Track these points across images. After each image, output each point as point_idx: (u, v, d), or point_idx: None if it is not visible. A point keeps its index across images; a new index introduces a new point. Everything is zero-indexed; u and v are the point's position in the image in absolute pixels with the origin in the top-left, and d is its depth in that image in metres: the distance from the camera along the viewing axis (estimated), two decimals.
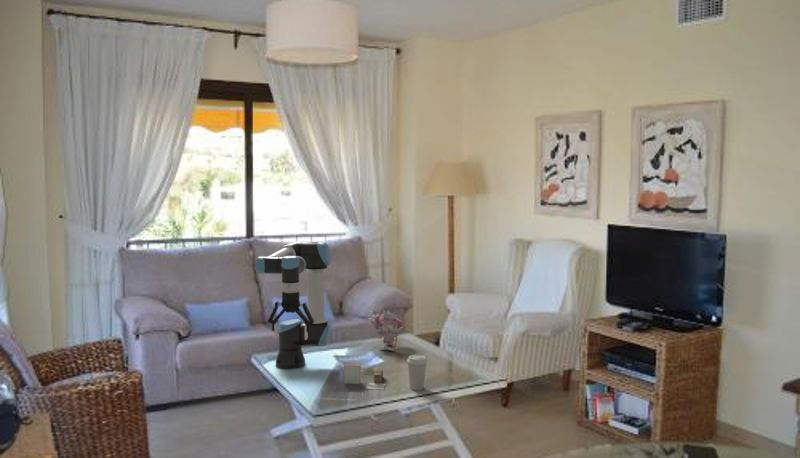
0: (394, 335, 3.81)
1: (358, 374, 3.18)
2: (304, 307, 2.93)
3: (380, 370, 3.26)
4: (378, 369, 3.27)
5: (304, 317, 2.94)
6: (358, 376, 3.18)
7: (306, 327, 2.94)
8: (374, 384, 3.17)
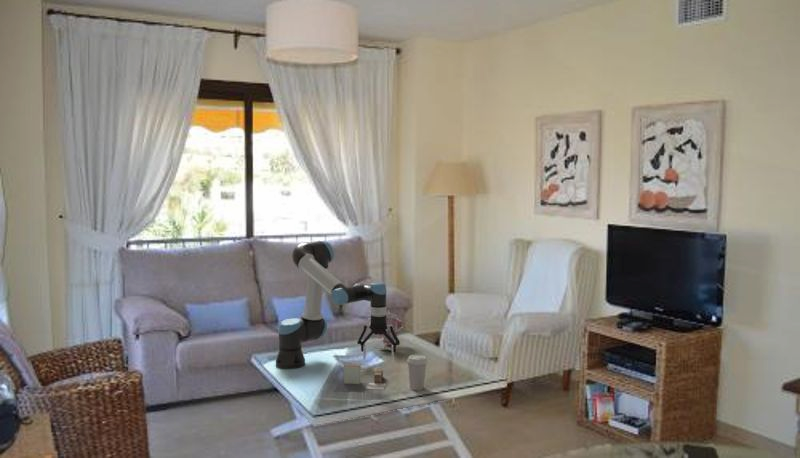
0: None
1: (358, 374, 3.18)
2: (391, 329, 3.18)
3: (380, 370, 3.26)
4: (378, 369, 3.27)
5: (391, 339, 3.19)
6: (358, 376, 3.18)
7: (393, 348, 3.19)
8: (374, 384, 3.17)
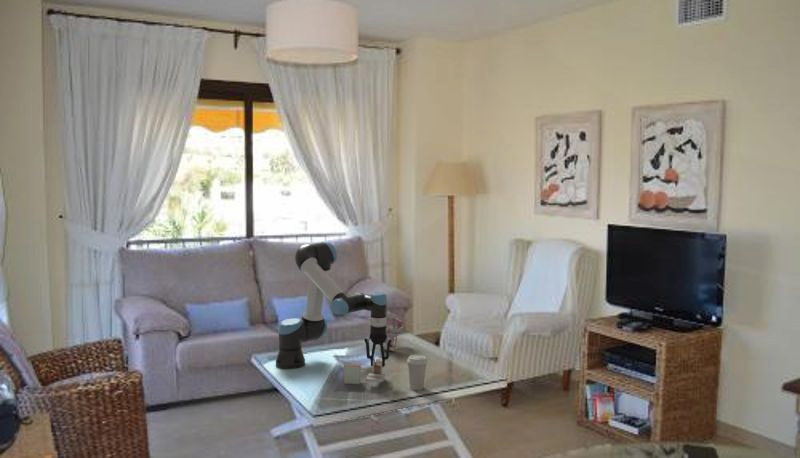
0: (394, 335, 3.81)
1: (358, 374, 3.18)
2: (389, 343, 3.19)
3: (380, 361, 3.26)
4: (378, 360, 3.27)
5: (383, 352, 3.20)
6: (358, 376, 3.18)
7: (382, 362, 3.20)
8: (373, 375, 3.17)
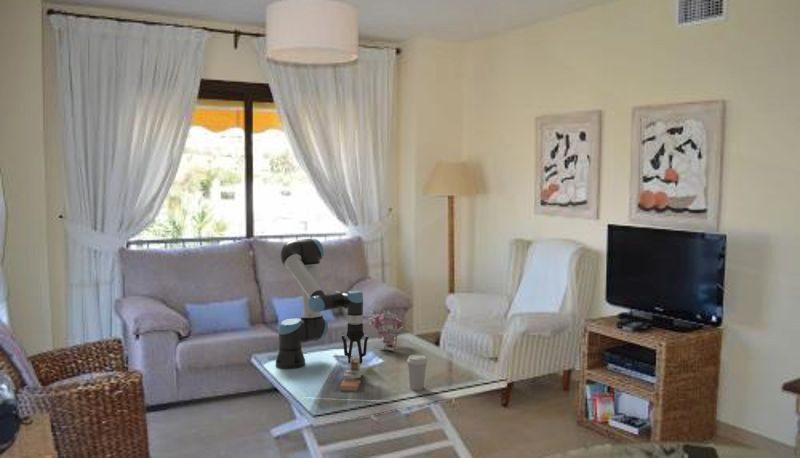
0: (394, 335, 3.81)
1: None
2: (365, 340, 3.25)
3: (357, 358, 3.31)
4: (355, 357, 3.33)
5: (361, 349, 3.26)
6: None
7: (359, 359, 3.26)
8: (351, 371, 3.23)
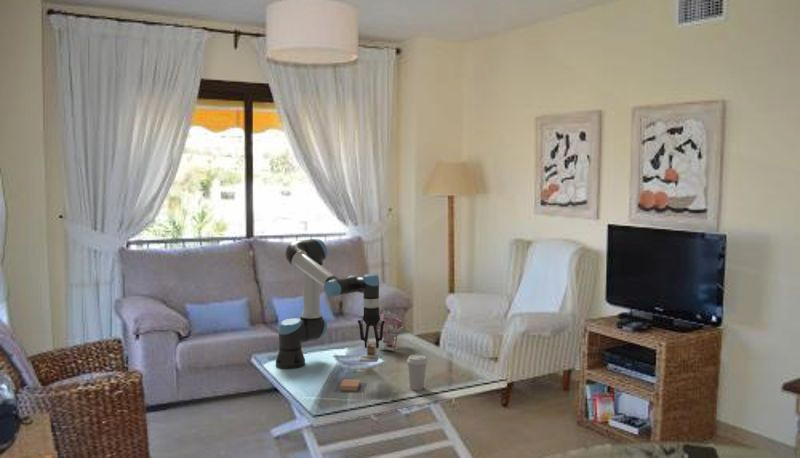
0: (394, 335, 3.81)
1: None
2: (382, 324, 3.20)
3: None
4: (372, 342, 3.28)
5: (377, 334, 3.21)
6: None
7: (375, 343, 3.22)
8: (367, 356, 3.18)
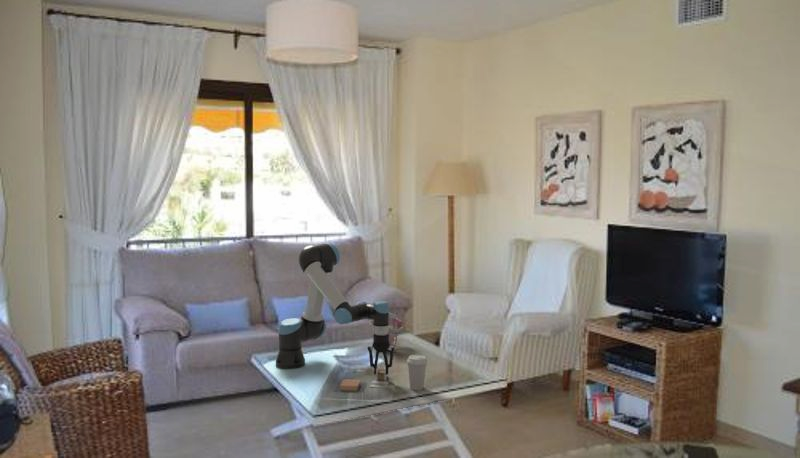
0: (394, 335, 3.81)
1: None
2: (392, 351, 3.22)
3: (383, 368, 3.28)
4: (381, 367, 3.30)
5: (387, 360, 3.23)
6: None
7: (385, 370, 3.23)
8: (377, 382, 3.20)
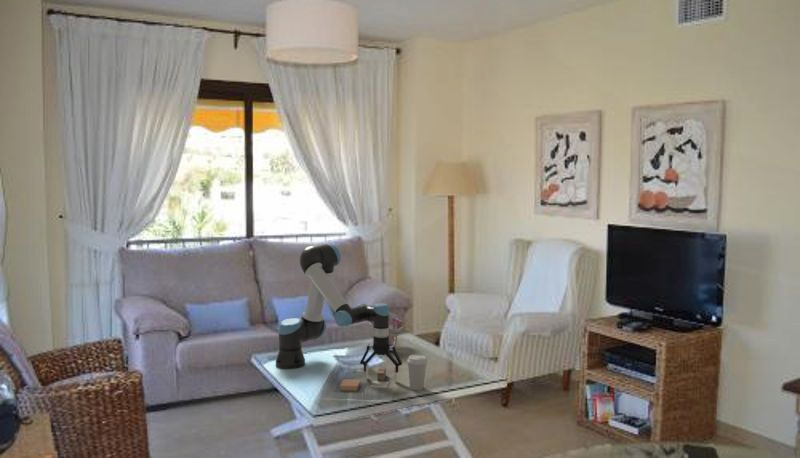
0: (394, 335, 3.81)
1: None
2: (394, 350, 3.22)
3: (383, 368, 3.28)
4: (381, 367, 3.30)
5: (393, 359, 3.23)
6: None
7: (395, 368, 3.23)
8: (377, 382, 3.20)
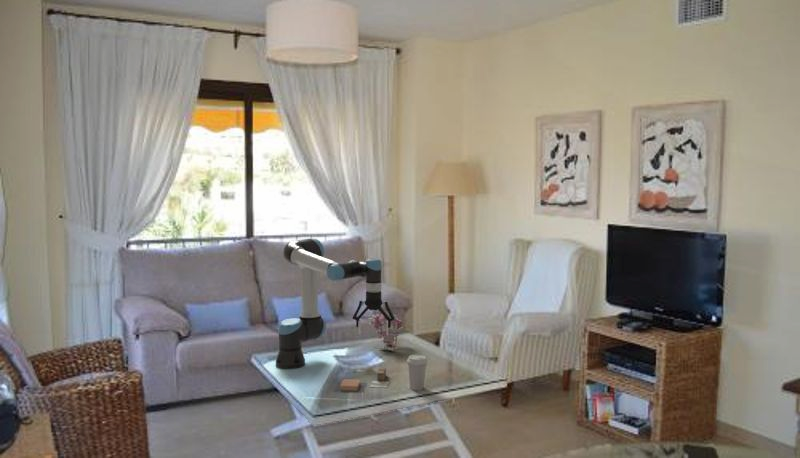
0: (394, 335, 3.81)
1: None
2: (386, 305, 3.22)
3: (383, 368, 3.28)
4: (381, 367, 3.30)
5: (386, 314, 3.23)
6: None
7: (388, 323, 3.23)
8: (377, 382, 3.20)
